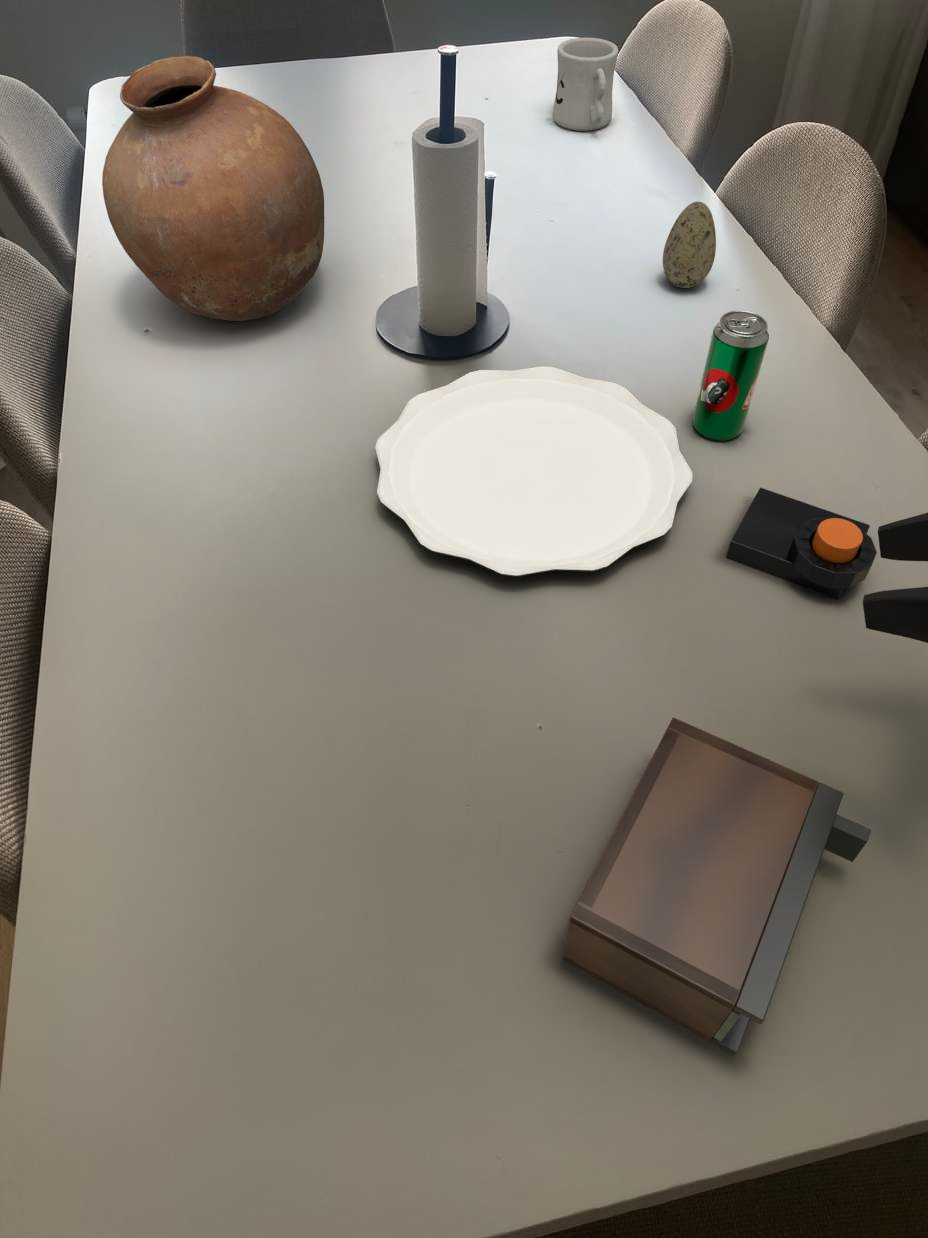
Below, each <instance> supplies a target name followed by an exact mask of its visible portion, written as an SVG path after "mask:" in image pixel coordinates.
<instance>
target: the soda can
mask: <svg viewBox="0 0 928 1238" xmlns="http://www.w3.org/2000/svg"><path fill="white" fill-rule="evenodd" d="M768 327H769V326H768V322H767V320H766V318H764V317H763V316H762V315H760V314H758V313H755V312H752V311H749V310H731V311H728V312H725V313H724V314H723V315H721V316H720V318H719V321H718V322H717V323H716V324H715V325H714V326H713V330H712V335H711V338H710V341H709V342H710V343H709V347H708V351H707V356H706V360H705V363H704V364H705V365H704V369H703V374H702V377H701V381H700V385H699V389H698V395H697V399H696V403H695V407H694V412H693V416H692V425H693V427H694V429H695V431H697V432H698V434H699V435H701V436H702V437H703V438H705V439H708V440H711V441H716V442H725V441H730V440H732V439H734V438H736V437H737V436H739V435H741V434H742V432H743V430H744V428H745V423H746V421H747V416H748V413H749V410H750V406H751V403H752V399H753V396H754V392H755V389H756V385H757V381H758V379H759V374H760V371H761V367H762V363H763V361H764V357H765V354H766V350H767V347H768V344H769V340H770V334H769V332H768Z"/></svg>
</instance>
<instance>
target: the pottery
mask: <svg viewBox="0 0 928 1238" xmlns="http://www.w3.org/2000/svg"><path fill="white" fill-rule="evenodd" d="M216 77H217V72H216V68H215V66H214V65H213V64H212V63H211V62H210V61H209V60H205V59H204V58H201V57H199V56H191V55H182V56H171V57H166V58H162V59H157V60H155V61H153V62H151V63H149V64H146V65H144V66H142V67H140V68H138V69H136V70H135V71H134V72H133V73H132V74H130V75H129V77H128V78H127V79H126V80H125V81H124V82H123V83H122V85H121V88H120V91H119V93H120V94H119V99H120V102H121V103H122V104H123V105H124V106H125V107H126V108H127V109H128V110H129V111H131V112H132V113H131V114H130V115H129V117H128V118H127V119H126V120H125V121H124V122H123V124H122V126H121V127H120V129H119V130H118V132H117V134H116V136H115V137H114V139H113V141H112V143H111V145H110V146H109V148H108V150H107V153H106V156H105V159H104V165H103V169H102V176H101V177H102V178H101V179H102V180H101V186H102V194H103V195H102V196H103V200H104V206H105V209H106V213H107V216H108V219H109V223H110V225H111V227H112V229H113V233H114V234H115V236H116V238H117V240H118V242H119V244H120V245H121V247H122V249H123V250H124V251H125V253H126V254H127V255H128V257H129V258H130V259H131V261H132V262H133V264H134V265H135V266H136V267H137V268H138V270H140V271H141V273H142V274H143V275H144V276H145V277H146V278H147V279H148V281H150V283H152V285H154V287H155V288H156V289H157V290H158V291H159V292H160V293H161V294H162V295H163V296H164V297H165V298H166V299H168V300H169V301H170V302H172V303H173V304H174V305H176V306H177V307H179V308H181V309H183V310H185V311H187V312H190V313H193V314H196V315H198V316H202V317H205V318H208V319H215V320H222V321H231V322H241V321H250V320H255V319H262V318H265V317H267V316H269V315H272V314H275V313H276V312H278V311H279V310H280V309H281V308H284V306H286V305H288V304H289V303H290V302H291V301H292V300H293V299H295V298H296V297H297V296H298V295H299V294H301V292H302V291H303V290H304V289H305V288H306V287H307V286H308V284H309V283H310V282H311V281H312V279H313V277H314V276H315V274H316V272H317V270H318V268H319V266H320V263H321V260H322V257H323V252H324V251H323V250H324V244H325V193H324V187H323V182H322V178H321V175H320V172H319V170H318V167H317V165H316V163H315V160H314V158H313V156H312V154H311V152H310V150H309V148H308V147H307V145H306V143H305V141H304V140H303V138H302V137H301V135H300V133H298V131H297V130H296V129H295V128H294V126H293V125H292V124H291V123H290V121H288V119H286V118H285V117H284V116H283V115H282V114H280V113H279V112H278V111H276V110H275V109H273V108H272V107H270V105H268V104H266V103H264V102H262V101H260V100H259V99H257V98H255V97H253V96H251V95H248V94H246V93H243V92H242V91H238V90H235V89H232V88H227V87H224V86H218V85H215V80H216Z"/></svg>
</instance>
